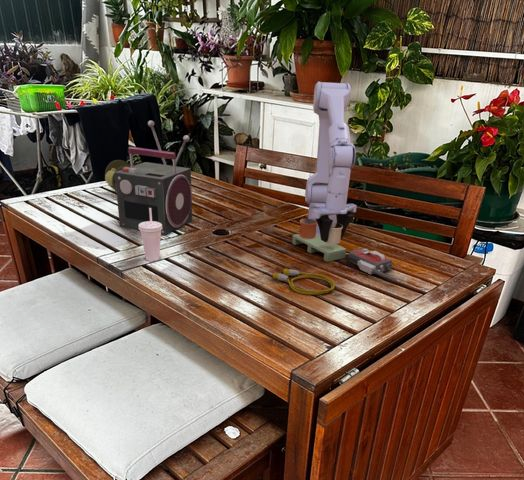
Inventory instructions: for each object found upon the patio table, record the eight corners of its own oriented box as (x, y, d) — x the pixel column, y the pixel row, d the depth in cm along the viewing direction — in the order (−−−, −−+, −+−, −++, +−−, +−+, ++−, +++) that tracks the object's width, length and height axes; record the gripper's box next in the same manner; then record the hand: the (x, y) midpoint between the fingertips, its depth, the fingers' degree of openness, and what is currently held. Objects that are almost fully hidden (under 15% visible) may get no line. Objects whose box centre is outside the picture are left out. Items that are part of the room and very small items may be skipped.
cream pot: (332, 236, 153) (334, 221, 150) (344, 242, 149) (347, 226, 146) (318, 239, 150) (319, 223, 147) (330, 245, 146) (332, 229, 144)
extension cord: (303, 268, 143) (303, 261, 142) (343, 288, 133) (344, 281, 132) (268, 278, 136) (269, 271, 135) (308, 300, 126) (309, 292, 125)
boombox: (116, 227, 165) (105, 126, 149) (151, 210, 182) (145, 118, 166) (165, 236, 160) (159, 133, 144) (197, 218, 176) (194, 124, 161)
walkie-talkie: (338, 261, 149) (392, 286, 135) (340, 246, 146) (395, 270, 133) (359, 255, 153) (413, 279, 140) (361, 241, 151) (416, 263, 138)
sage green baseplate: (309, 240, 163) (310, 231, 162) (345, 257, 151) (346, 248, 150) (291, 243, 160) (292, 234, 158) (327, 262, 148) (328, 252, 146)
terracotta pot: (309, 232, 161) (310, 217, 159) (320, 237, 157) (321, 222, 155) (294, 234, 158) (296, 219, 156) (305, 240, 155) (307, 224, 152)
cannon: (164, 185, 211) (162, 156, 205) (174, 193, 203) (173, 163, 197) (103, 191, 200) (99, 160, 194) (111, 199, 192) (107, 167, 186)
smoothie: (168, 256, 146) (165, 207, 139) (157, 264, 141) (153, 213, 134) (148, 252, 148) (144, 204, 140) (136, 260, 142) (132, 210, 135)
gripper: (326, 198, 136) (320, 247, 143) (366, 192, 143) (359, 239, 150) (309, 191, 140) (305, 239, 148) (349, 186, 148) (343, 232, 155)
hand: (331, 239), depth 149 cm, fingers closed on cream pot, 5 cm apart
